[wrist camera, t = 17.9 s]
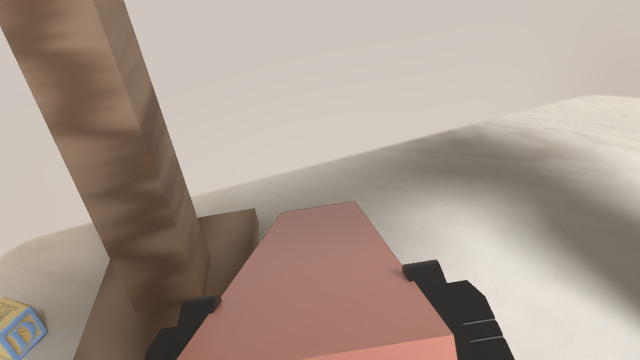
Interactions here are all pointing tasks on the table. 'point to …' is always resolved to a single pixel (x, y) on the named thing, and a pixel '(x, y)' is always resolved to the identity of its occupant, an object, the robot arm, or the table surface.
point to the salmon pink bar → (322, 298)
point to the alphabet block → (18, 329)
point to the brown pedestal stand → (122, 171)
